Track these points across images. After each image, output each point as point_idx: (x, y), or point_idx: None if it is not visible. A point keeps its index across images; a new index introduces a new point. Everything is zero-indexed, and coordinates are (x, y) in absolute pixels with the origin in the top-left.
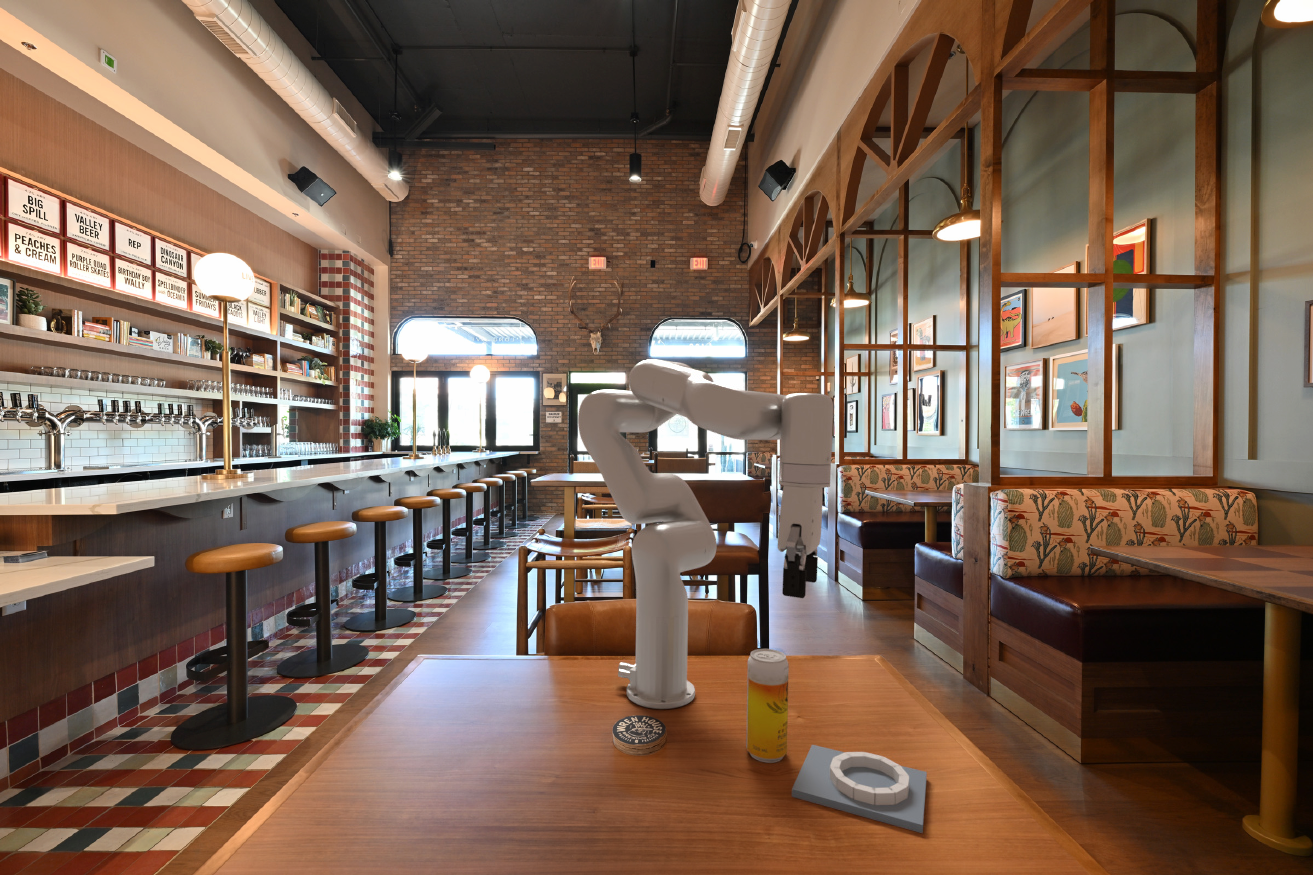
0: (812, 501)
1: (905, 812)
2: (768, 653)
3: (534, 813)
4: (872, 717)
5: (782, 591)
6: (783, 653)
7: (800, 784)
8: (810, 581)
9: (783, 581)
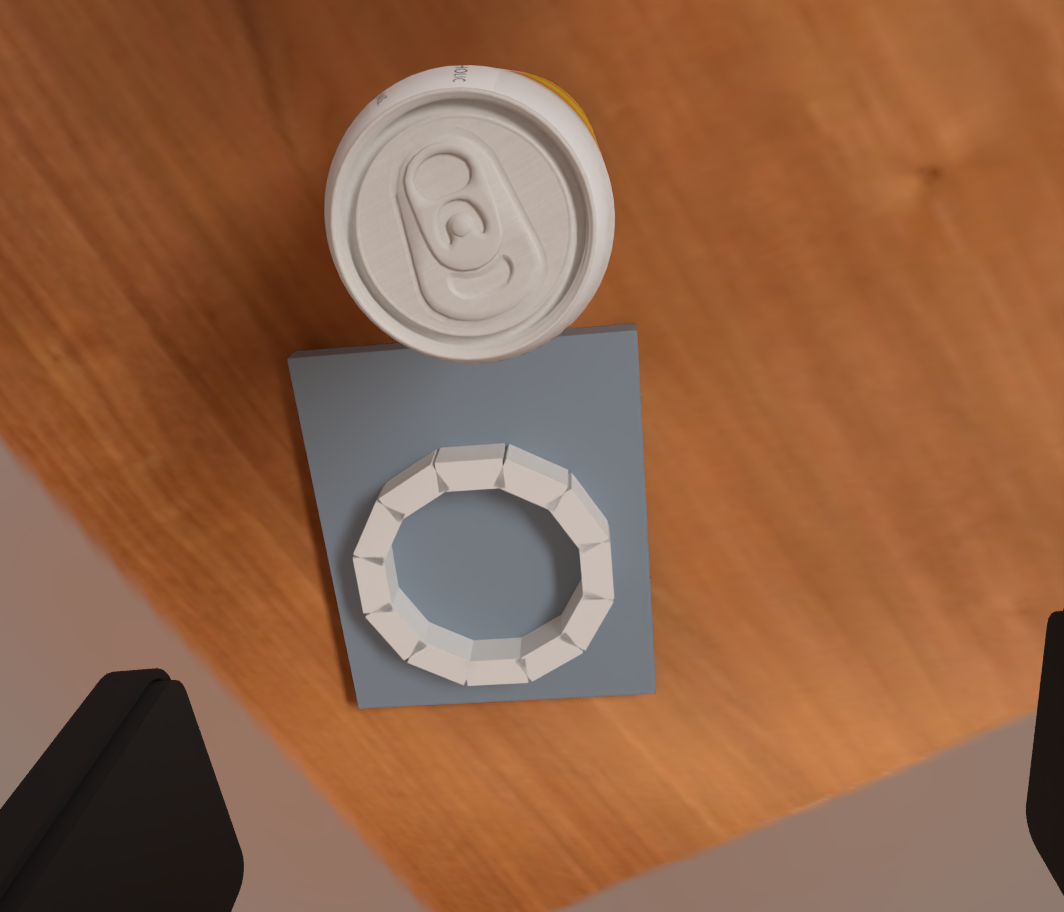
0: None
1: (388, 667)
2: (525, 208)
3: None
4: (1060, 464)
5: (94, 689)
6: (560, 317)
7: (332, 375)
8: (1031, 775)
9: (12, 805)
